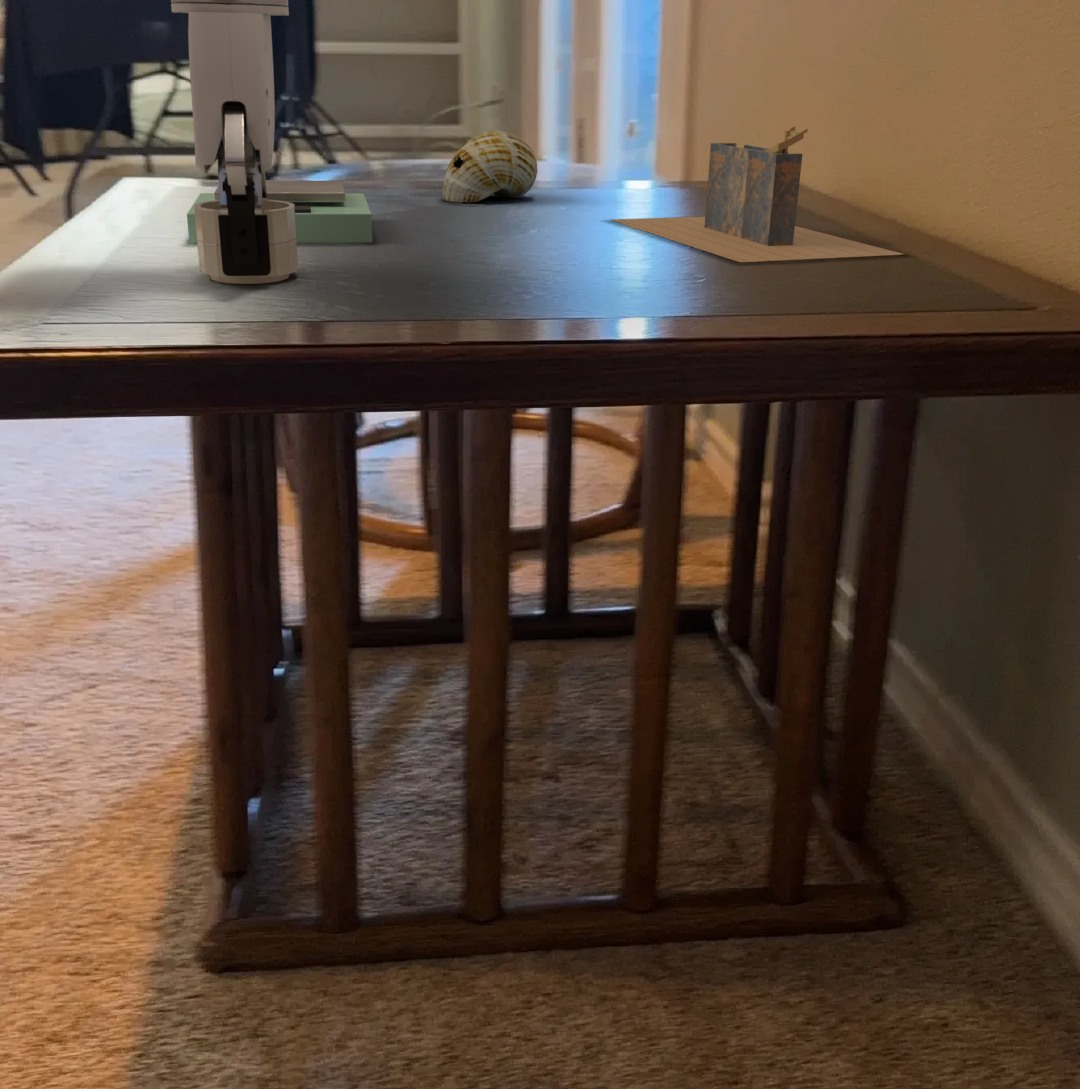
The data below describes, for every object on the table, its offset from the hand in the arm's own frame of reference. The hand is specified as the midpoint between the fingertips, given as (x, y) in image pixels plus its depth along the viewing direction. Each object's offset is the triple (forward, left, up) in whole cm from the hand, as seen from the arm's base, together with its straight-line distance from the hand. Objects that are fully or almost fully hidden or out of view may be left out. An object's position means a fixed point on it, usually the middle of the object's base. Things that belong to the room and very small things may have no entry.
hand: (249, 263), depth 84 cm
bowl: (0, 0, -1) cm, 1 cm away
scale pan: (+2, +24, +2) cm, 24 cm away
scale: (+2, +22, -1) cm, 22 cm away
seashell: (+24, +45, -1) cm, 51 cm away
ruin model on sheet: (+44, +18, -1) cm, 48 cm away
